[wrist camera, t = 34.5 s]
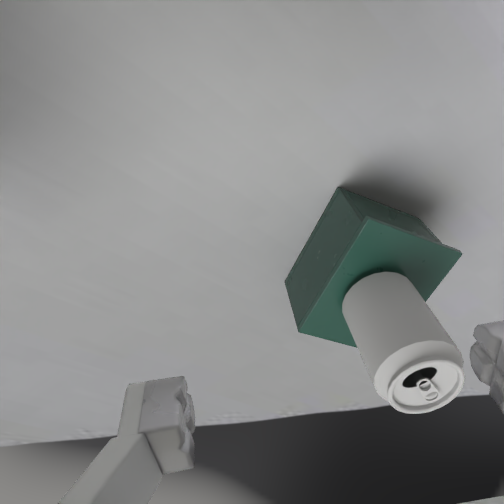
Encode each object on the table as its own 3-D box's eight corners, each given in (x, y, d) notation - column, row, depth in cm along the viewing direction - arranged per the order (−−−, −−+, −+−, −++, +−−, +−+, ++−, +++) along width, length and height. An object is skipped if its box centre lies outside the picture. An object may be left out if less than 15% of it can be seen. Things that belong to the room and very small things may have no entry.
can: (393, 253, 41) (456, 341, 31) (422, 301, 45) (486, 394, 35) (326, 292, 43) (365, 387, 33) (359, 335, 47) (403, 433, 36)
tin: (337, 186, 47) (361, 222, 40) (419, 218, 50) (454, 256, 43) (284, 281, 53) (297, 327, 46) (359, 304, 56) (382, 350, 49)
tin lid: (366, 215, 39) (368, 218, 39) (459, 249, 43) (463, 253, 42) (296, 327, 46) (298, 332, 45) (382, 350, 49) (384, 354, 49)
